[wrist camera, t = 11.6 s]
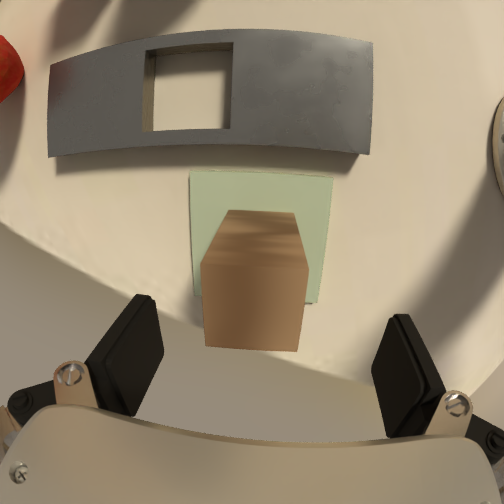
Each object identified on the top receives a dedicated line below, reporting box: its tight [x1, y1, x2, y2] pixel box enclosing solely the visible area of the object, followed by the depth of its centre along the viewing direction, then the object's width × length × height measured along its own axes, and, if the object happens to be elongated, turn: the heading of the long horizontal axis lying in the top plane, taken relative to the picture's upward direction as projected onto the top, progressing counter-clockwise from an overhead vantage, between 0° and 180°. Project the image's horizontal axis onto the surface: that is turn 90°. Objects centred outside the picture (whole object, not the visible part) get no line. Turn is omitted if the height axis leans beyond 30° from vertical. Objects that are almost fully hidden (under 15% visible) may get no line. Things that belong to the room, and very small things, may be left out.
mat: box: [190, 171, 333, 303], centre depth 22 cm, size 10×10×1 cm
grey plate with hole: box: [47, 29, 373, 158], centre depth 17 cm, size 24×8×2 cm, turn 88°
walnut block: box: [200, 210, 309, 352], centre depth 17 cm, size 5×5×9 cm
